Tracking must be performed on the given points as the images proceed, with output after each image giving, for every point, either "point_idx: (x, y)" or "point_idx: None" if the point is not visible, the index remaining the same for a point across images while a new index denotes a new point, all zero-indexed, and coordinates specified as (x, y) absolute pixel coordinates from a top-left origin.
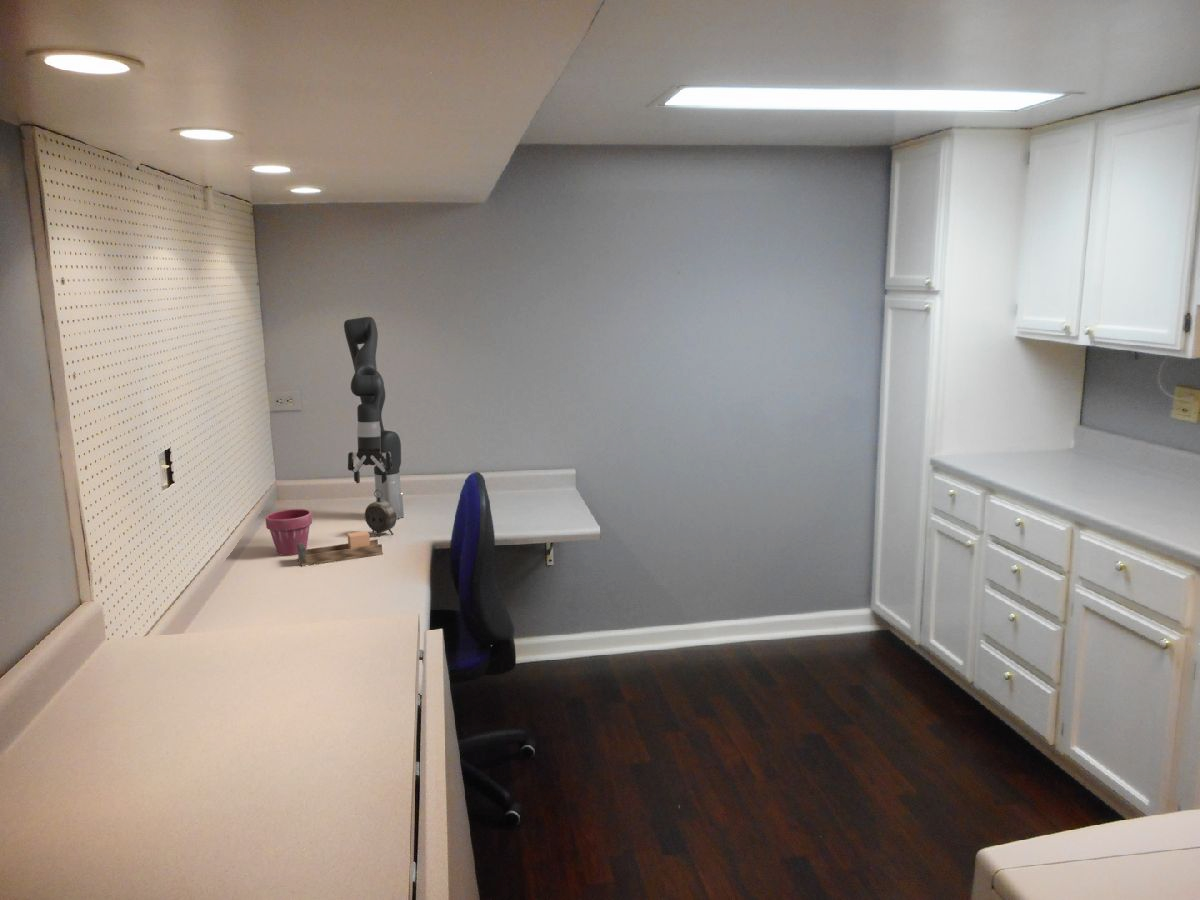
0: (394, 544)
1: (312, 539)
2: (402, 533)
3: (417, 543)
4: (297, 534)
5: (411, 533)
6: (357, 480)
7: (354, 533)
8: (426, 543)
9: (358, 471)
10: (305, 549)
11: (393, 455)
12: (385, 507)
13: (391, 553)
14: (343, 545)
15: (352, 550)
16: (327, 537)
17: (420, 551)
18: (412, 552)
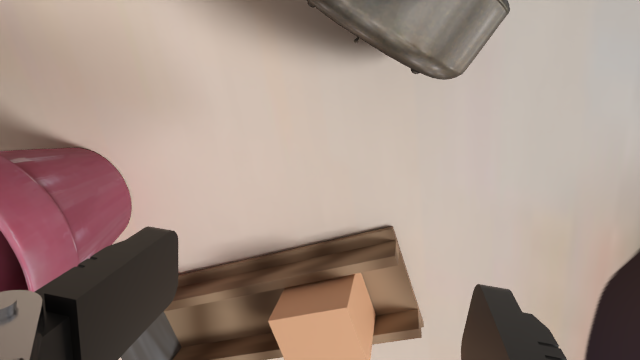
0: (467, 201)
1: (96, 33)
2: (512, 3)
3: (580, 213)
4: None
5: (565, 13)
6: (152, 315)
7: (299, 332)
8: (626, 224)
9: (65, 326)
10: (128, 211)
11: None
12: (441, 55)
13: (456, 319)
14: (265, 290)
15: None
16: (147, 11)
17: (580, 329)
18: None
